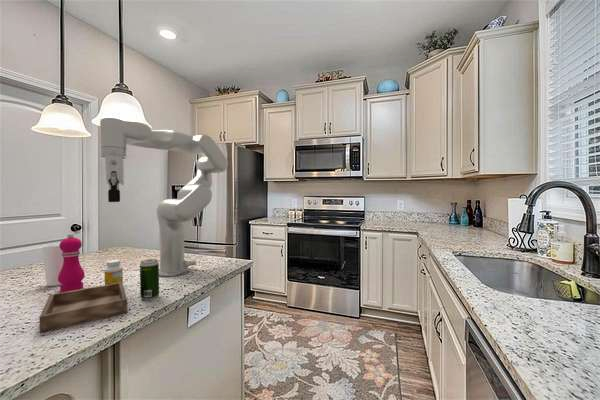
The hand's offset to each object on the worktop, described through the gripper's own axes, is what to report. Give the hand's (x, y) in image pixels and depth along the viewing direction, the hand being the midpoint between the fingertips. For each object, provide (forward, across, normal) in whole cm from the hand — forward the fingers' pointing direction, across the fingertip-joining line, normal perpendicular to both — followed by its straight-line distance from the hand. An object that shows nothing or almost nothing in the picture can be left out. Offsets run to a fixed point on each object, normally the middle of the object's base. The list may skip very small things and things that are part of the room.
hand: (114, 201), depth 95 cm
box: (+31, -17, +6) cm, 36 cm away
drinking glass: (+32, +17, +19) cm, 40 cm away
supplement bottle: (+32, +1, +1) cm, 32 cm away
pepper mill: (+32, +8, +13) cm, 35 cm away
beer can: (+31, -16, -10) cm, 37 cm away
